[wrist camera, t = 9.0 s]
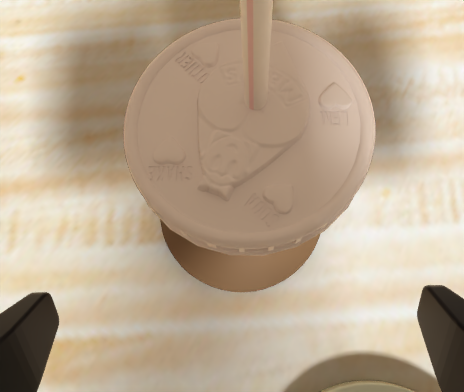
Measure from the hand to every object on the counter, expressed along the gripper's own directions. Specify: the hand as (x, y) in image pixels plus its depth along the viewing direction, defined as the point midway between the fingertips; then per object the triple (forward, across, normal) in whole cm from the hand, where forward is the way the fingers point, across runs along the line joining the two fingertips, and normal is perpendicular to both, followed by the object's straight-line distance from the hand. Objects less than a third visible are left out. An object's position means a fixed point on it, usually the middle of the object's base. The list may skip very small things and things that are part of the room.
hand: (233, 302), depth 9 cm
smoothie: (+9, 0, +3) cm, 10 cm away
